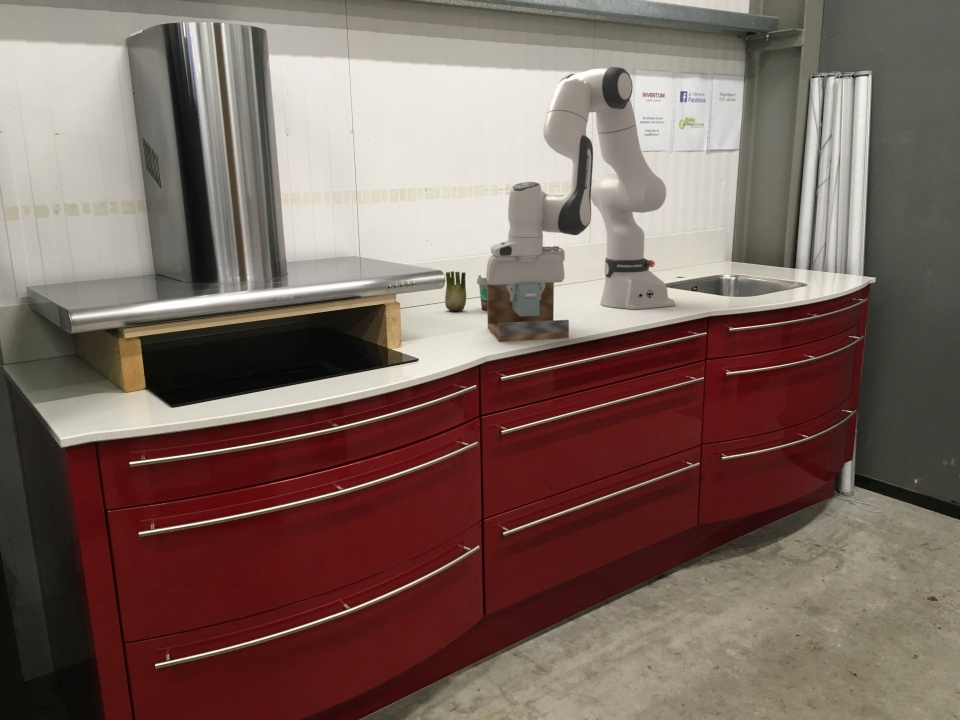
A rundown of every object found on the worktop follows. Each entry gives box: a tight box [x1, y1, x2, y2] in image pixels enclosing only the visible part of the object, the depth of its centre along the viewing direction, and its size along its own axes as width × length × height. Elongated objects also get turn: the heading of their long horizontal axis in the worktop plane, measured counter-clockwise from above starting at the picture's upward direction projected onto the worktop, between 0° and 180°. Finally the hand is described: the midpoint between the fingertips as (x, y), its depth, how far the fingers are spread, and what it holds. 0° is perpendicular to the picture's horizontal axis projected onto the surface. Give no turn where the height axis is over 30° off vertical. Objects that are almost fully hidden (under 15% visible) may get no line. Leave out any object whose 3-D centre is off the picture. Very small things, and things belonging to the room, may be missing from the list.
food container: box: [476, 274, 489, 312], centre depth 236 cm, size 12×6×10 cm, turn 62°
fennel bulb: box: [444, 270, 467, 312], centre depth 236 cm, size 6×5×12 cm
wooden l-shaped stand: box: [486, 283, 570, 343], centre depth 206 cm, size 18×16×12 cm
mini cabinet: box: [512, 283, 540, 316], centre depth 206 cm, size 5×11×8 cm, turn 10°
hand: (525, 300), depth 207 cm, fingers closed on mini cabinet, 5 cm apart
